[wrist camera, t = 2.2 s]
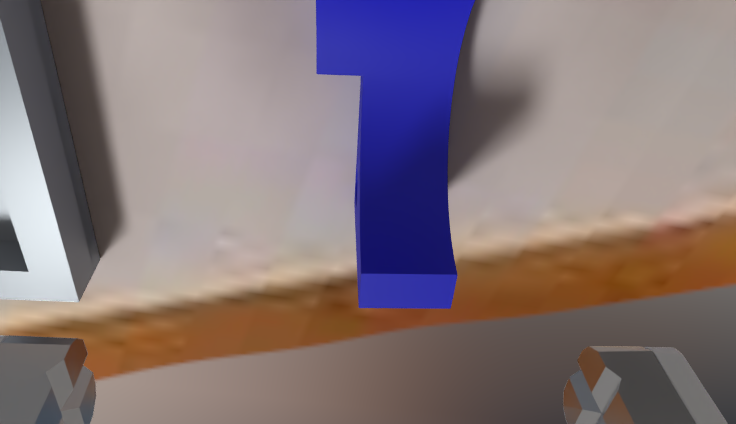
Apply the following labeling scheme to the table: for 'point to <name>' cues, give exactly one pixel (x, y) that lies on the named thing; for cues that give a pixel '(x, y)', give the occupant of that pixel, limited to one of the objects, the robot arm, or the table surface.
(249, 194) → the table surface
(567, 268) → the table surface
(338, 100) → the table surface
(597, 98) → the table surface
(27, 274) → the tray
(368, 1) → the blue angular stepped piece
